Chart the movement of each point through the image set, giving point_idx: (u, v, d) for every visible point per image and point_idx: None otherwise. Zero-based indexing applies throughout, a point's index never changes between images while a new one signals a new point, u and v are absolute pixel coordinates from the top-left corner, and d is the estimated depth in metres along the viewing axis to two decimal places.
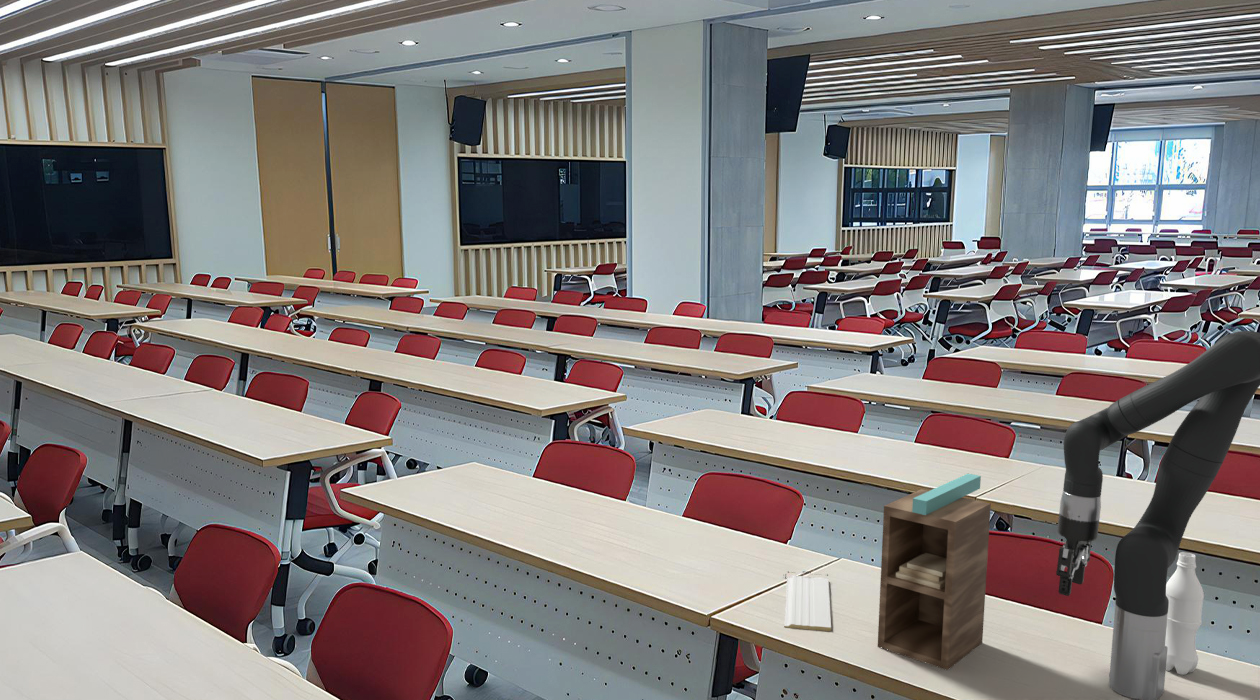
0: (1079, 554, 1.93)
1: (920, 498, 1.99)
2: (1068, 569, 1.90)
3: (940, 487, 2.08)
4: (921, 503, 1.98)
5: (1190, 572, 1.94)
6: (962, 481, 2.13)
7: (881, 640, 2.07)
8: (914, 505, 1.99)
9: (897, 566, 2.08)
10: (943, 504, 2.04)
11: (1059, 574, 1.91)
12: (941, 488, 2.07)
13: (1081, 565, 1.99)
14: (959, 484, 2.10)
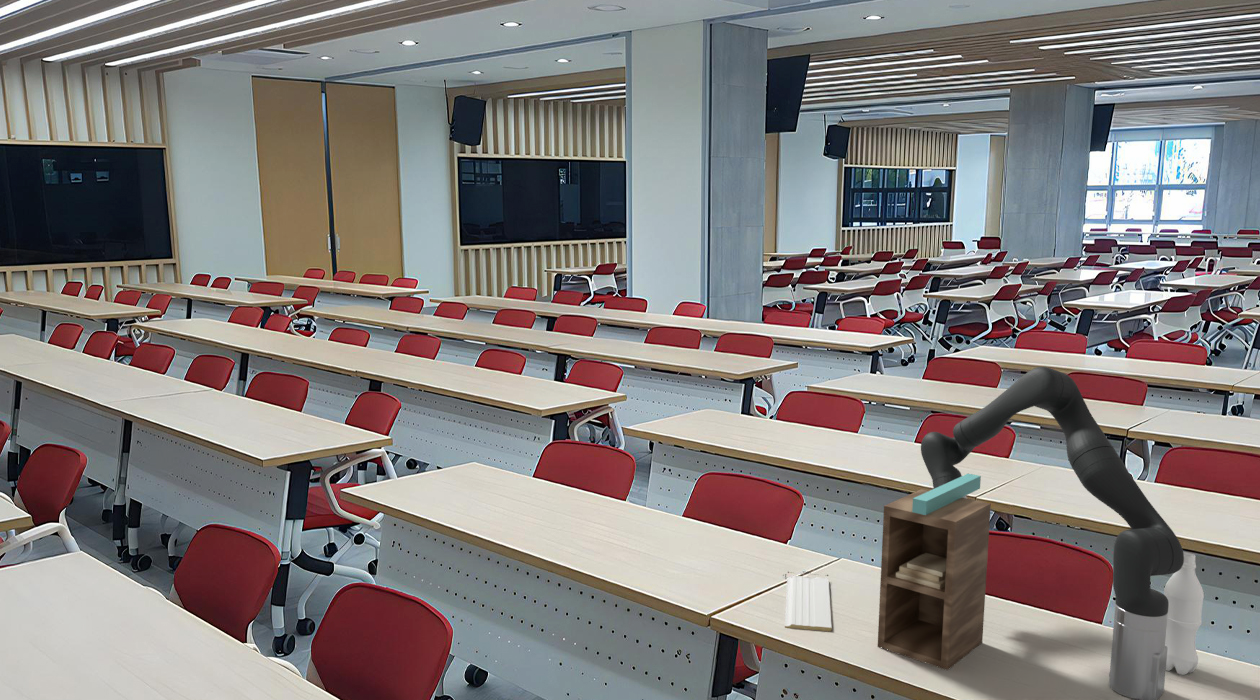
0: None
1: (920, 498, 1.99)
2: None
3: (940, 487, 2.08)
4: (921, 503, 1.98)
5: (1190, 572, 1.94)
6: (962, 481, 2.13)
7: (881, 640, 2.07)
8: (914, 505, 1.99)
9: (897, 566, 2.08)
10: (943, 504, 2.04)
11: None
12: (941, 488, 2.07)
13: None
14: (959, 484, 2.10)
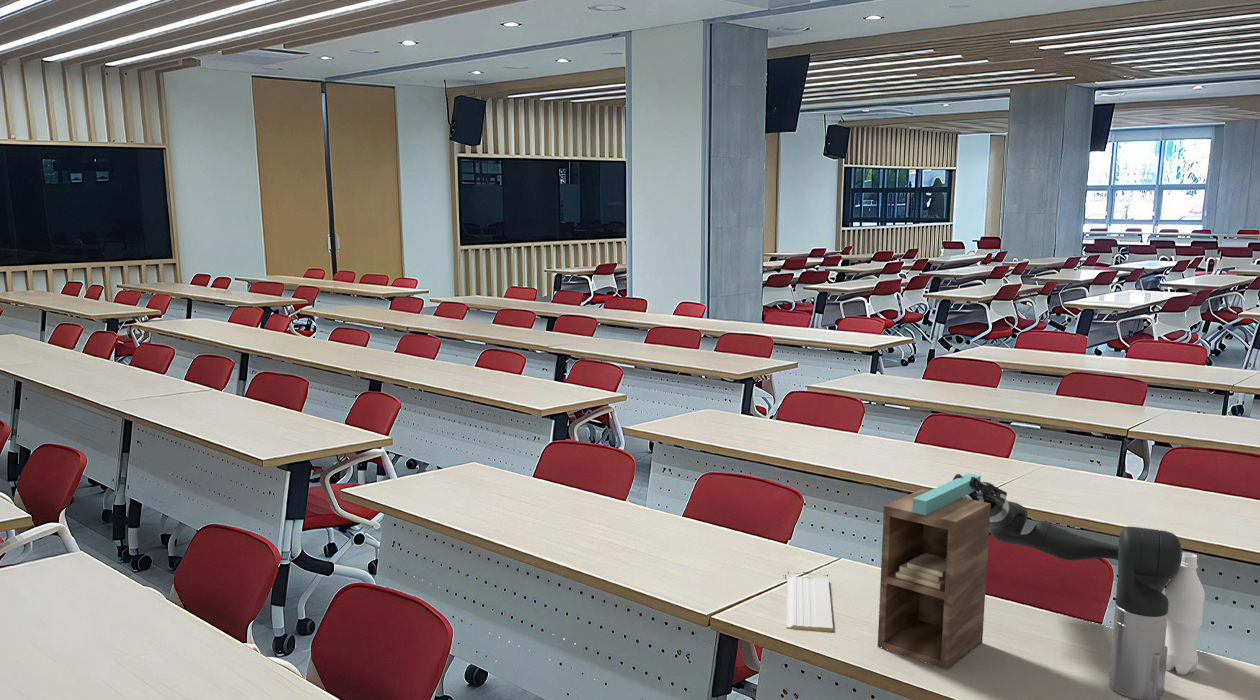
0: None
1: (920, 498, 1.99)
2: None
3: (940, 487, 2.08)
4: (921, 503, 1.98)
5: (1192, 572, 1.94)
6: (962, 481, 2.13)
7: (881, 640, 2.07)
8: (914, 505, 1.99)
9: (897, 566, 2.08)
10: (943, 504, 2.04)
11: None
12: (941, 488, 2.07)
13: None
14: (959, 484, 2.10)
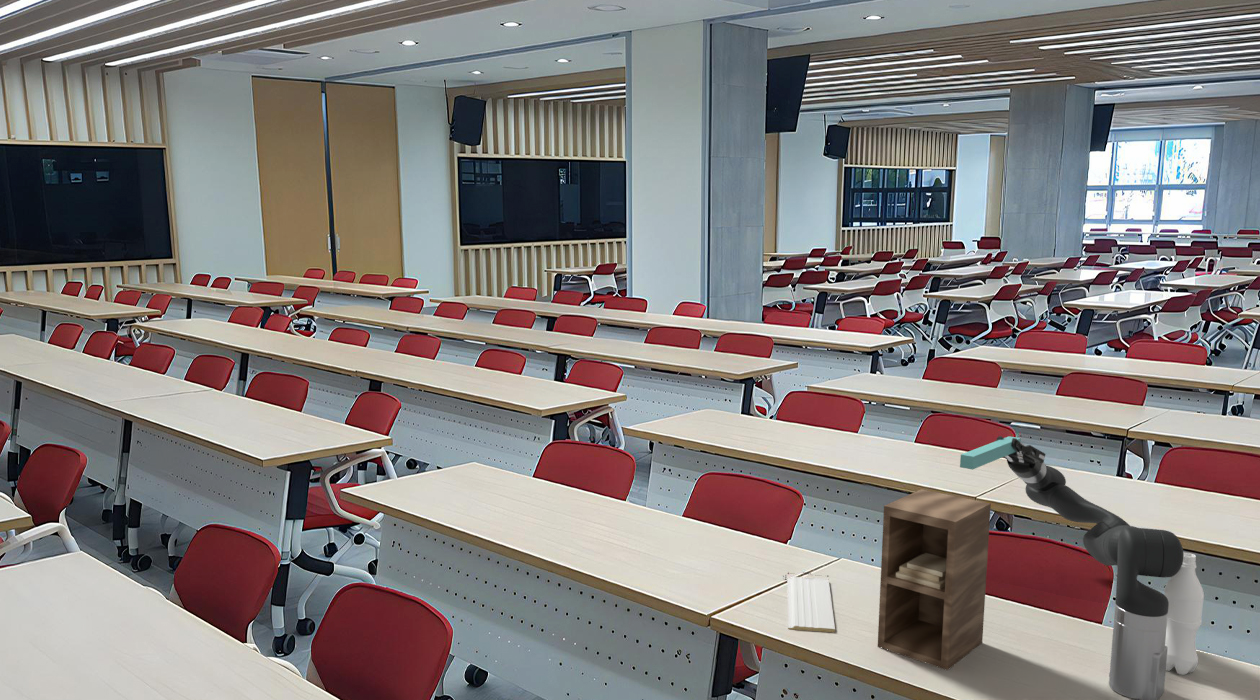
0: None
1: (967, 454, 2.17)
2: None
3: (984, 446, 2.26)
4: (968, 458, 2.16)
5: (1190, 572, 1.94)
6: (1004, 442, 2.31)
7: (881, 640, 2.07)
8: (962, 461, 2.17)
9: (897, 566, 2.08)
10: (988, 461, 2.22)
11: None
12: (985, 447, 2.25)
13: None
14: (1002, 444, 2.28)
